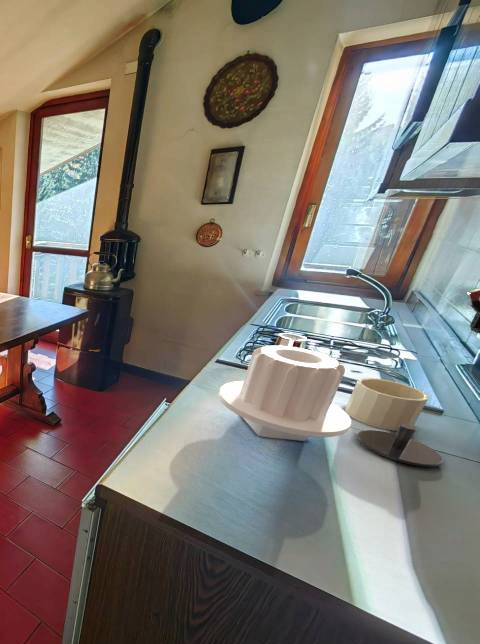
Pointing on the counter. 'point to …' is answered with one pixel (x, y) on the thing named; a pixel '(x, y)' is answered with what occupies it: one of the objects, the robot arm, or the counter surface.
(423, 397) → the faceted cream dish
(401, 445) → the lid
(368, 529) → the counter surface
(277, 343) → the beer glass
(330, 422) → the ribbed cylinder on disc
